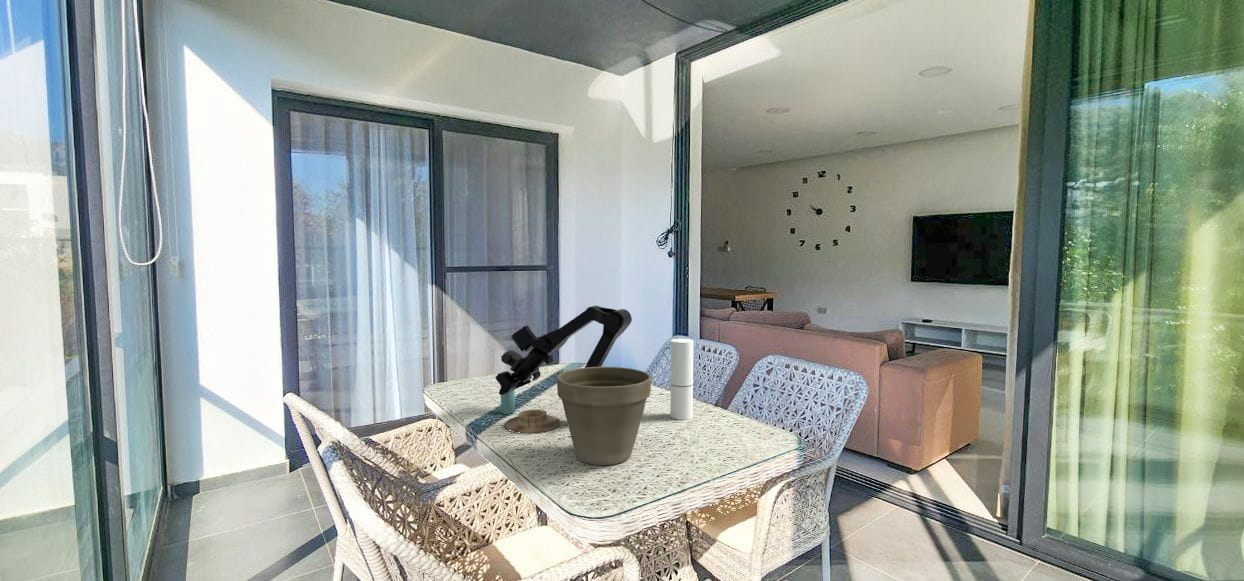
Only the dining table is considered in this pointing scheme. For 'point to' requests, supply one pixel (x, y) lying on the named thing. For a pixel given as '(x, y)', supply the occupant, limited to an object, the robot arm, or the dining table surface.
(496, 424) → the dining table surface
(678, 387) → the cylindrical container
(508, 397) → the teal peg
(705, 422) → the dining table surface
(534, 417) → the walnut stand
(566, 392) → the plant pot
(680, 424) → the dining table surface
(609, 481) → the dining table surface
